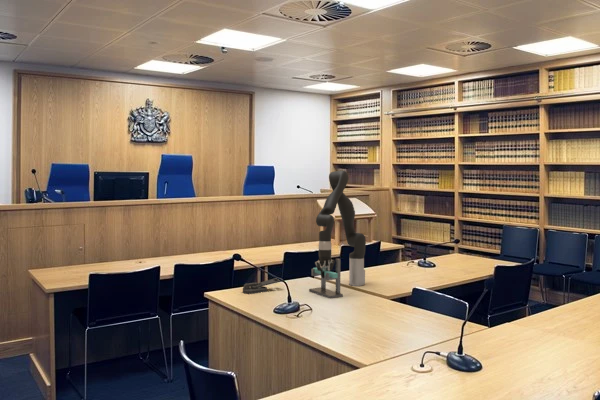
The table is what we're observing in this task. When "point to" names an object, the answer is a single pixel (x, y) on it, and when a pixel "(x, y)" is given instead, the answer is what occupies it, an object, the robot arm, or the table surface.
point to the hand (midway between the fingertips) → (324, 277)
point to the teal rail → (331, 274)
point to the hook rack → (322, 289)
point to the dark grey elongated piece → (258, 286)
